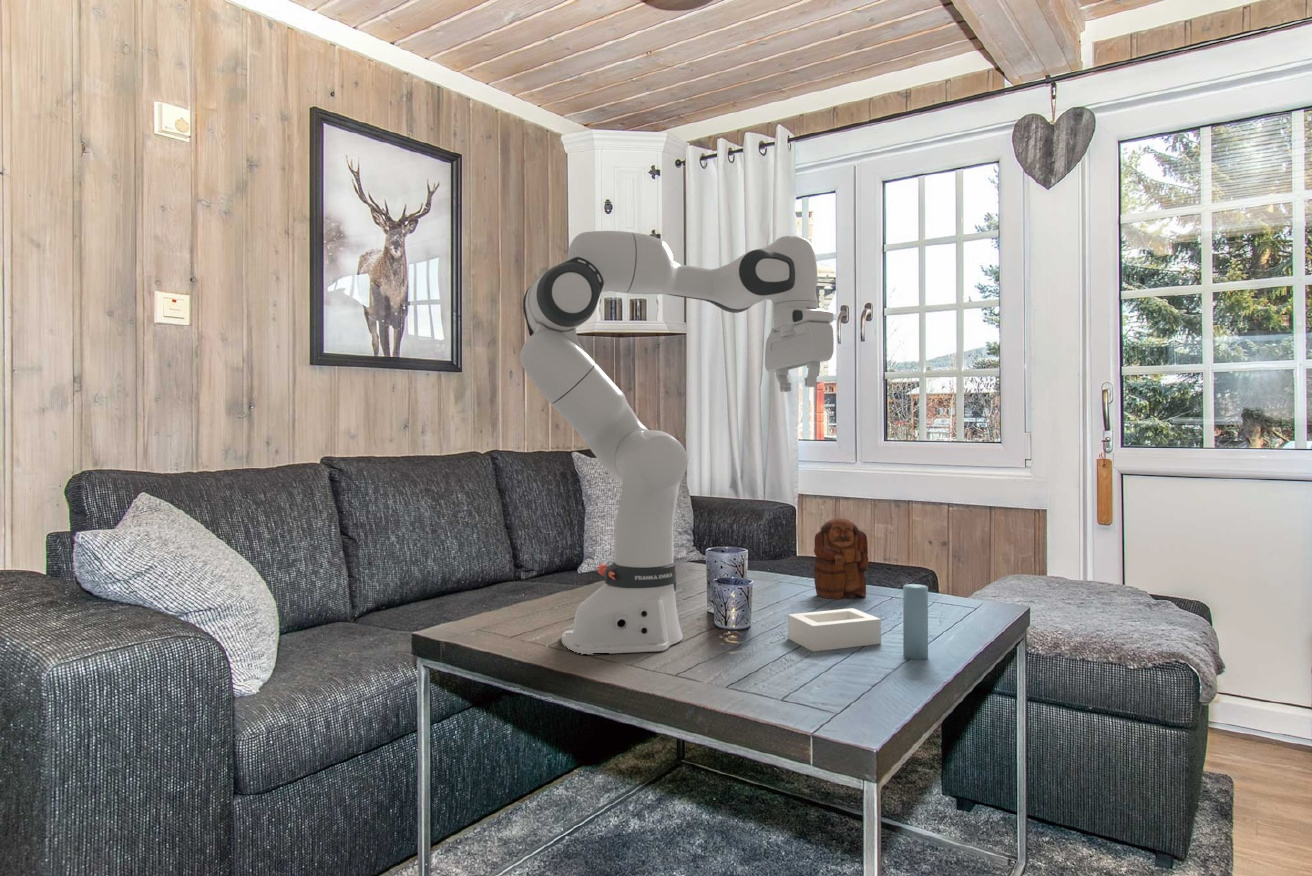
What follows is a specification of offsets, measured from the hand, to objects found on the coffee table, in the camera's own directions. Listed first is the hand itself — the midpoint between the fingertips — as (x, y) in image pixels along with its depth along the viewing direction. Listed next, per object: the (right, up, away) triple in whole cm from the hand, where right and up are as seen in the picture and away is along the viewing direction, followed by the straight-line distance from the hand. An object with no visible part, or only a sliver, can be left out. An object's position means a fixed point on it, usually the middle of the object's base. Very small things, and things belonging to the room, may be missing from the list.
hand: (797, 389), depth 155 cm
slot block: (+5, -47, -11) cm, 48 cm away
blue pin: (+16, -47, -21) cm, 54 cm away
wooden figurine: (+15, -46, +27) cm, 56 cm away
